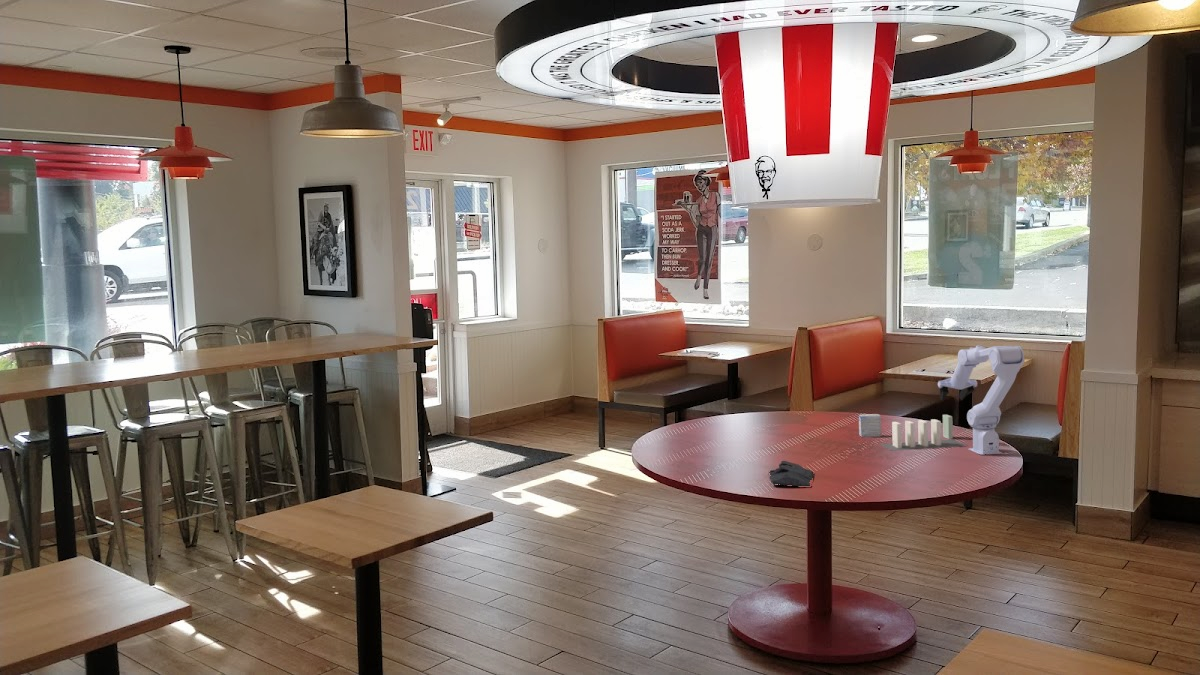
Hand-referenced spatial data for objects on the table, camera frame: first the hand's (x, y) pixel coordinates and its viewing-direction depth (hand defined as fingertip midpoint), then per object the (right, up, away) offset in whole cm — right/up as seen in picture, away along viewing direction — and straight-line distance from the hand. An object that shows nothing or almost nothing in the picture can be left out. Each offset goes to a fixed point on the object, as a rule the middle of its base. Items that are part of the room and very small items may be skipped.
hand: (951, 398), depth 356 cm
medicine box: (-27, -16, +14) cm, 34 cm away
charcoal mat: (-14, -17, -8) cm, 23 cm away
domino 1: (-23, -17, -9) cm, 31 cm away
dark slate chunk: (-72, -24, -49) cm, 90 cm away
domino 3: (-14, -17, -8) cm, 23 cm away
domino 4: (-9, -17, -8) cm, 20 cm away
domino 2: (-19, -17, -9) cm, 27 cm away
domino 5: (0, -16, +3) cm, 16 cm away
